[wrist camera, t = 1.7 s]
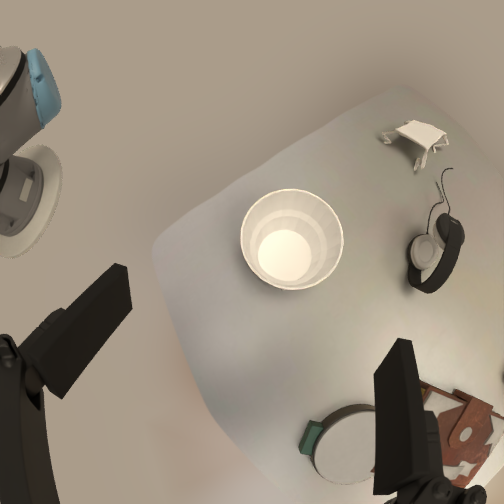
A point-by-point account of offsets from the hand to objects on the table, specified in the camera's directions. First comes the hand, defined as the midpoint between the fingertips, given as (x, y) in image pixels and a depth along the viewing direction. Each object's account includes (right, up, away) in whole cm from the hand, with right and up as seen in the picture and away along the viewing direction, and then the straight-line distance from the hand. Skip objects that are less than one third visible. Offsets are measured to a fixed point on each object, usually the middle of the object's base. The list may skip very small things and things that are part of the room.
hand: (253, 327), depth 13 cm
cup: (+4, +3, +25) cm, 25 cm away
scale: (+14, -23, +19) cm, 33 cm away
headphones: (+25, +7, +25) cm, 36 cm away
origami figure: (+27, +20, +28) cm, 44 cm away
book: (+30, -26, +18) cm, 43 cm away
